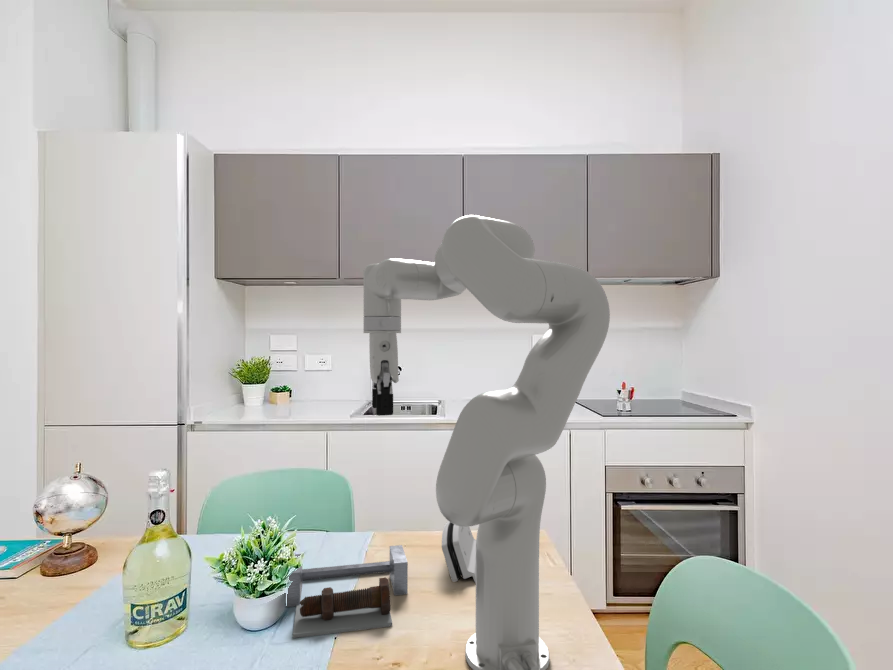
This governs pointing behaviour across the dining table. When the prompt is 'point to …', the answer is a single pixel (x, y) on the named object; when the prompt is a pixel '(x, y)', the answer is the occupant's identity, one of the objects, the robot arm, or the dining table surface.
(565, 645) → the dining table surface
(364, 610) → the mat
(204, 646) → the dining table surface
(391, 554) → the vise
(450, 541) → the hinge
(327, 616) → the bolt
